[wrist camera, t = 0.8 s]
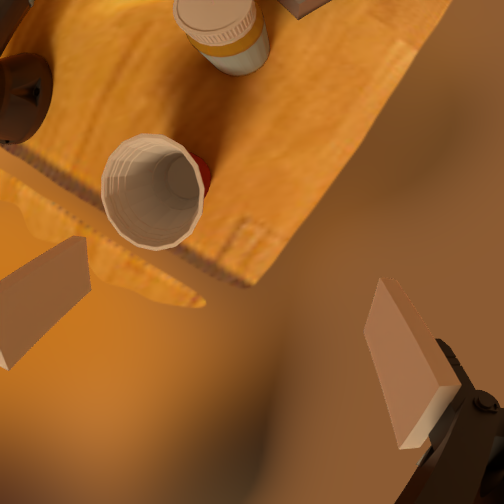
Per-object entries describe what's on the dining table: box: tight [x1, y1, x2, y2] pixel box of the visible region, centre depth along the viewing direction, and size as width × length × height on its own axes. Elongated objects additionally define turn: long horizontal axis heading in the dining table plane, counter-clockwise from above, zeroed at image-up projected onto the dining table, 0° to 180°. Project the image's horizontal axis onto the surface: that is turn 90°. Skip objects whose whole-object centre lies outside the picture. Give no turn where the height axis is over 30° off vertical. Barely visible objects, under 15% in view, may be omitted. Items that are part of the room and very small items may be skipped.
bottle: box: [173, 0, 270, 76], centre depth 25 cm, size 7×7×15 cm
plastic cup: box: [101, 134, 211, 251], centre depth 32 cm, size 11×11×12 cm
